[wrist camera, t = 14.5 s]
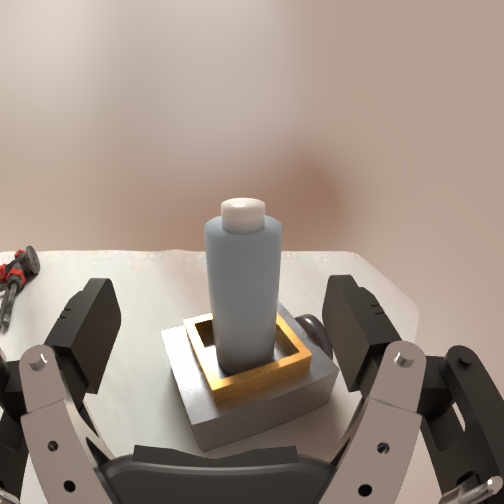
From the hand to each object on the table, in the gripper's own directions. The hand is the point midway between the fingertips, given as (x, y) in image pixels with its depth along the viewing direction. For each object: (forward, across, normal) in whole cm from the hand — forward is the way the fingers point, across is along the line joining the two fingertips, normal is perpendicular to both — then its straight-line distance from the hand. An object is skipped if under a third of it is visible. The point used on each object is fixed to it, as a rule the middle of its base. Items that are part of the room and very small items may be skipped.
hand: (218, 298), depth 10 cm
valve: (+28, +46, +23) cm, 58 cm away
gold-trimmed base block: (+10, -2, +21) cm, 23 cm away
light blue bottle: (+10, -2, +15) cm, 18 cm away
